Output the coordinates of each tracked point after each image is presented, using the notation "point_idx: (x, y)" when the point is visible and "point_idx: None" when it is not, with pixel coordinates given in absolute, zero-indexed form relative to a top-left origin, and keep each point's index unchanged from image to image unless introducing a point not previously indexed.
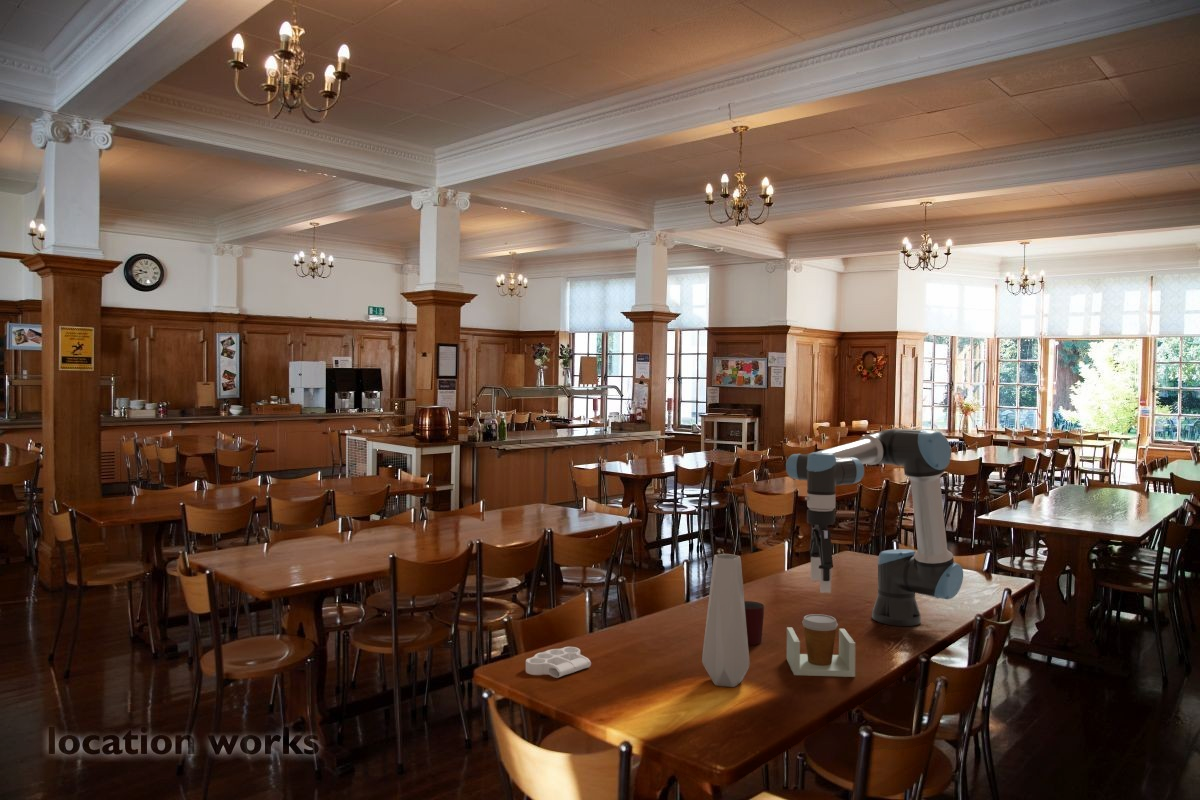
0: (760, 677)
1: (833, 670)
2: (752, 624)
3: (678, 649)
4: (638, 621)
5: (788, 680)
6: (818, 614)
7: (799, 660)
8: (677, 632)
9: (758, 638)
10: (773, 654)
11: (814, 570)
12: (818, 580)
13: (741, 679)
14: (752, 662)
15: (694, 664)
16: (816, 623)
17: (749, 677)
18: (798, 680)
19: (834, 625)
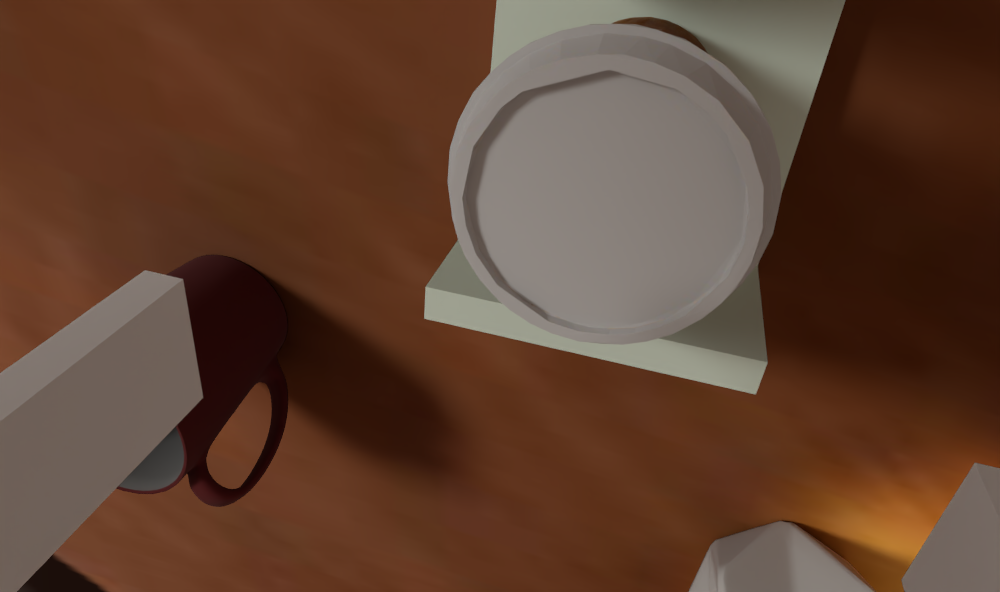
0: (746, 432)
1: (819, 63)
2: (235, 378)
3: (377, 573)
4: (94, 577)
5: (820, 331)
6: (462, 177)
7: (759, 294)
8: (180, 515)
9: (256, 298)
10: (415, 264)
11: (88, 468)
12: (187, 313)
13: (834, 553)
14: (533, 393)
15: (548, 585)
16: (728, 291)
17: (736, 471)
18: (834, 284)
19: (741, 104)
